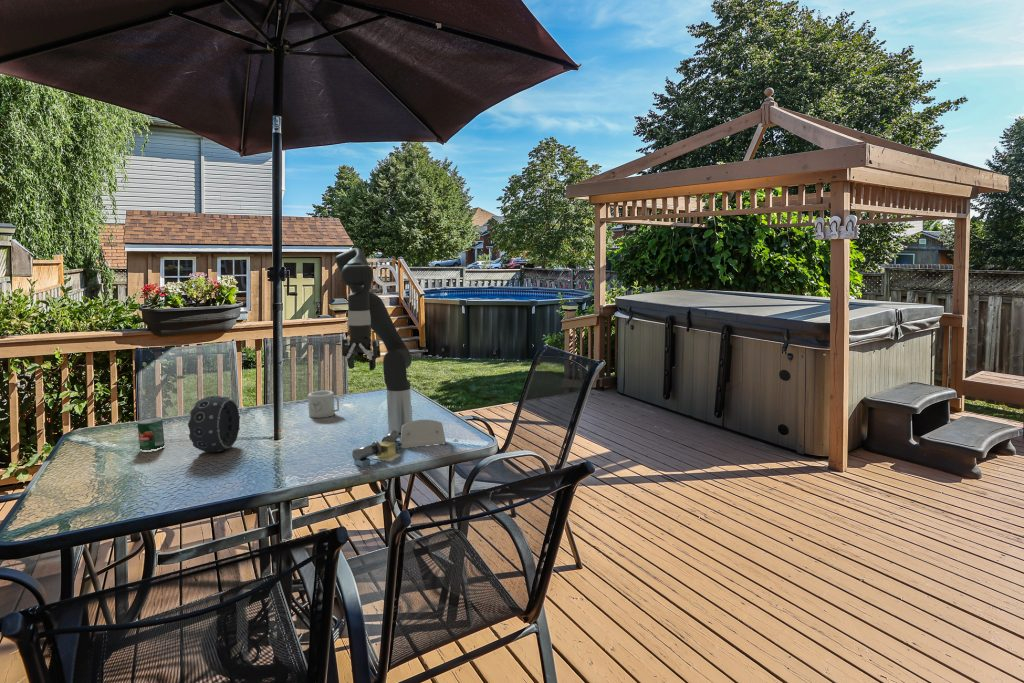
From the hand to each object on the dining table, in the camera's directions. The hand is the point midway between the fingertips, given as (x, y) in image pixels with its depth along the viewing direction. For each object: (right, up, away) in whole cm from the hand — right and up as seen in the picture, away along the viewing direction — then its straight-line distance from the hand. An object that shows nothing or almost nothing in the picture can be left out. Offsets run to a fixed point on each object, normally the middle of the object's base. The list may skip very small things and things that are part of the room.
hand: (361, 369), depth 207 cm
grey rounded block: (+19, -29, +13) cm, 37 cm away
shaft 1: (+3, -32, -7) cm, 32 cm away
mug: (-30, -23, +53) cm, 65 cm away
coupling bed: (+9, -31, -1) cm, 32 cm away
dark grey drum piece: (-54, -30, +8) cm, 63 cm away
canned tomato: (-79, -30, +10) cm, 85 cm away
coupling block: (+9, -30, -1) cm, 31 cm away
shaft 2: (+9, -29, +7) cm, 31 cm away
